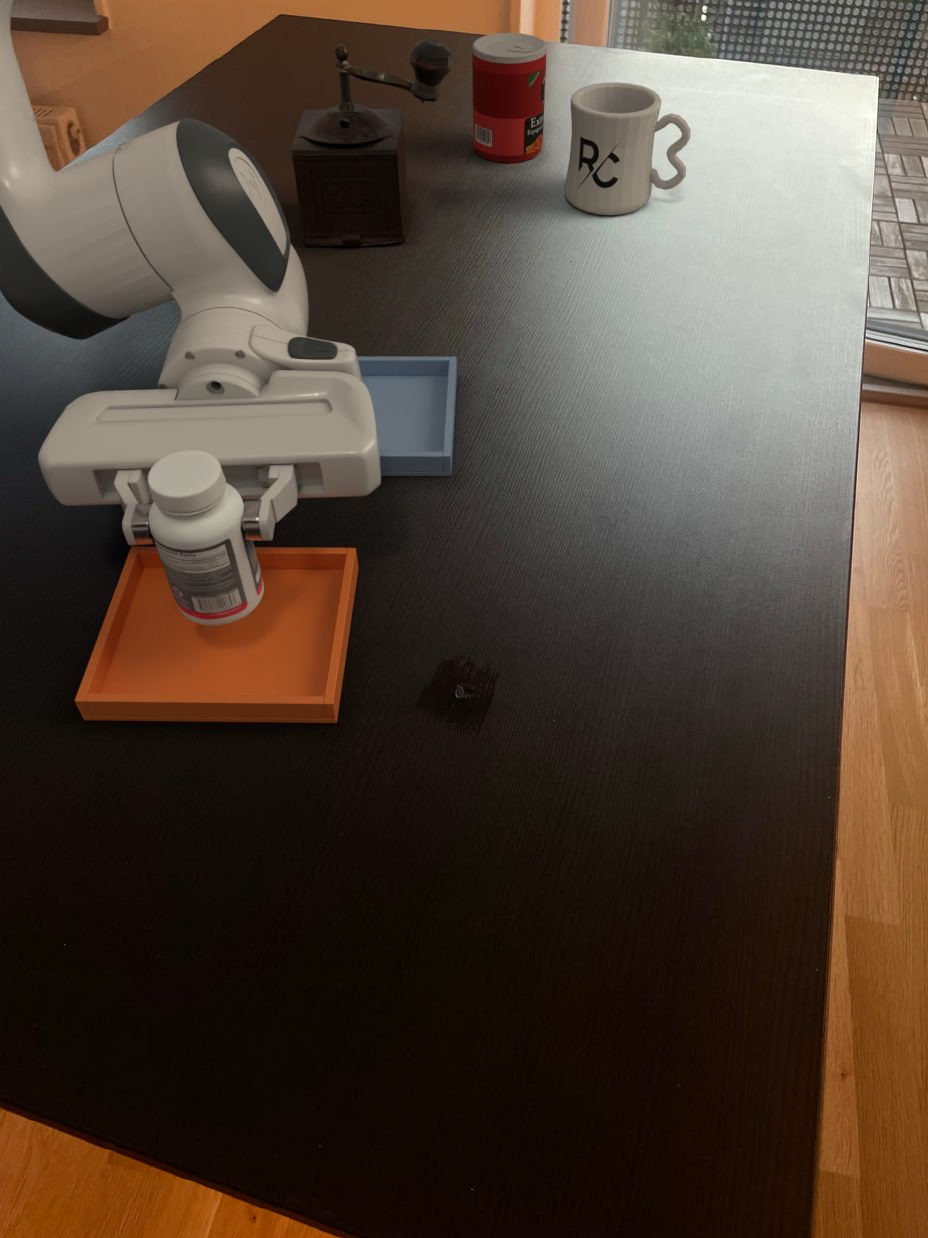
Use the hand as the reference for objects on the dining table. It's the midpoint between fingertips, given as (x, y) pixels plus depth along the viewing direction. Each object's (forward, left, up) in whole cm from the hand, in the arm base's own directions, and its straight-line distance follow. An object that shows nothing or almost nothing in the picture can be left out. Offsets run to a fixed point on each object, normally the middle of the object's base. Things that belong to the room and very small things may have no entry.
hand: (198, 534), depth 56 cm
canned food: (+18, +76, -10) cm, 78 cm away
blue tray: (+6, +24, -10) cm, 26 cm away
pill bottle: (0, +1, -6) cm, 6 cm away
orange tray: (0, +1, -10) cm, 10 cm away
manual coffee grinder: (+5, +58, -10) cm, 59 cm away
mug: (+30, +63, -10) cm, 70 cm away
